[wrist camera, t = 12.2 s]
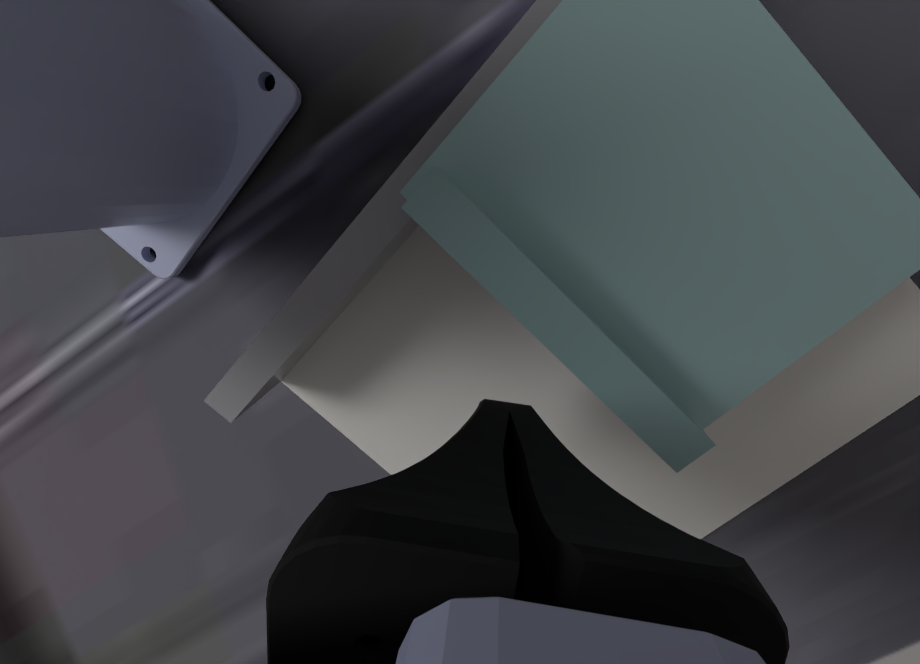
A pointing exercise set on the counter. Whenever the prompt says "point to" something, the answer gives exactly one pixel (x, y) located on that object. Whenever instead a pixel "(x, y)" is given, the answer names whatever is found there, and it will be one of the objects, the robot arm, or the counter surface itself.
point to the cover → (669, 206)
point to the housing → (541, 361)
